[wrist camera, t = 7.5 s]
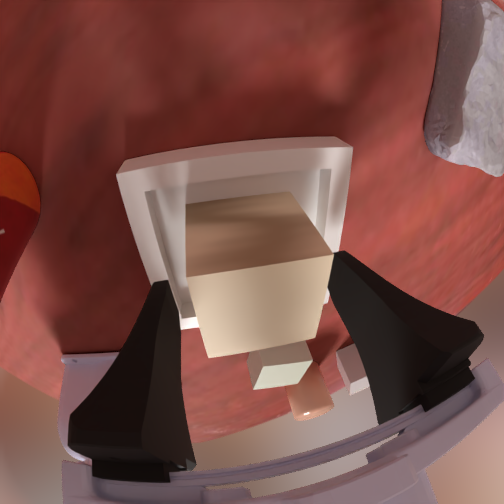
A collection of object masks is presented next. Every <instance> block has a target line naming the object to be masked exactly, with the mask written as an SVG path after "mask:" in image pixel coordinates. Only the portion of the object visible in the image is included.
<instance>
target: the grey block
mask: <svg viewBox="0 0 504 504" xmlns="http://www.w3.org/2000/svg"><path fill="white" fill-rule="evenodd" d="M336 356H337V367H338V369H339V371H340V374H341V376H342V378H343V381H344V383H345V385H346V388H347V390H348V392H349V395H352V394H354V393H357V392H359V391H361V390H363V389H366V388H367V387H370V385H369V382H368V379H367V375H366V372H365V369H364V366H363V363H362V361H361V358H360V355H359V353H358V350H357V348H356V346H355V343H354V344H352V345H350V346H347V347H345V348H343V349H340V350H338V351H336Z"/></svg>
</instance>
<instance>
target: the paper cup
mask: <svg viewBox="0 0 504 504" xmlns="http://www.w3.org/2000/svg"><path fill="white" fill-rule="evenodd" d="M40 209H41V203H40V195H39V191H38V187H37V184H36V182H35V179H34V177H33V175H32V173H31V172H30V170H29V169H28V167H27V166H26V165H25V164H24V163H23V162H22V161H21V160H20V159H19V158H18V157H16V156H15V155H13V154H11V153H8V152H3V151H0V302H1V299H2V297H3V294H4V292H5V289H6V287H7V285H8V283H9V280H10V278H11V276H12V274H13V272H14V269H15V267H16V265H17V263H18V261H19V259H20V257H21V255H22V253H23V251H24V249H25V247H26V245H27V243H28V242H29V240H30V238H31V236H32V234H33V232H34V230H35V228H36V226H37V223H38V220H39V217H40Z"/></svg>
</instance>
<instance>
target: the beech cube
mask: <svg viewBox="0 0 504 504" xmlns="http://www.w3.org/2000/svg"><path fill="white" fill-rule="evenodd" d="M185 254H186V279H187V283H188V287H189V291H190V295H191V299H192V302H193V306H194V310H195V314H196V317H197V321H198V324H199V328H200V331H201V335H202V338H203V342H204V345H205V348H206V352H207V355H208V358H213V357H219V356H226V355H232V354H238V353H244V352H250V351H255V350H261V349H266V348H271V347H276V346H281V345H286V344H290V343H295V342H299V341H304V340H308V339H312V338H315V336H316V332H317V329H318V325H319V321H320V316H321V312H322V308H323V304H324V299H325V295H326V291H327V286H328V281H329V277H330V272H331V267H332V262H333V257H334V254H333V252H332V251H331V249H330V248H329V246H328V245H327V243H326V242H325V241H324V239H323V238H322V236H321V235H320V233H319V232H318V230H317V229H316V227H315V226H314V225H313V223H312V222H311V220H310V219H309V217H308V216H307V215H306V213H305V212H304V210H303V209H302V208H301V206H300V205H299V203H298V202H297V201H296V199H295V198H294V196H293V195H292V194H291V192H281V193H271V194H261V195H252V196H244V197H235V198H227V199H220V200H212V201H205V202H198V203H191V204H185Z"/></svg>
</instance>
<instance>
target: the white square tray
mask: <svg viewBox="0 0 504 504" xmlns="http://www.w3.org/2000/svg"><path fill="white" fill-rule="evenodd" d="M352 153H353V147H352V146H350V145H349V144H347V143H345V142H344V141H342V140H340V139H339V138H337V137H335V136H327V137H291V138H274V139H260V140H248V141H238V142H229V143H220V144H212V145H205V146H198V147H191V148H185V149H178V150H173V151H167V152H161V153H156V154H151V155H146V156H141V157H136V158H132V159H127V160H125V161H124V162H123V164H122V165H121V167H120V169H119V170H118V172H117V173H116V177H117V180H118V184H119V188H120V192H121V195H122V199H123V203H124V206H125V209H126V213H127V216H128V219H129V223H130V226H131V229H132V232H133V235H134V238H135V241H136V244H137V247H138V250H139V253H140V256H141V259H142V262H143V265H144V267H145V270H146V273H147V276H148V278H149V281H150V284H151V286H152V284H153V283H154V282H156V281H163V280H168V281H169V284H170V287H171V290H172V293H173V296H174V299H175V302H176V305H177V308H178V311H179V318H180V328H181V330H182V329H189V328H196V327H199V324H198V321H197V317H196V314H195V310H194V306H193V302H192V299H191V295H190V291H189V287H188V283H187V279H186V254H185V204H191V203H198V202H205V201H212V200H220V199H227V198H235V197H244V196H252V195H261V194H271V193H281V192H291V194H292V195H293V196H294V198H295V199H296V201H297V202H298V203H299V205H300V206H301V208H302V209H303V210H304V212H305V213H306V215H307V216H308V217H309V219H310V220H311V222H312V223H313V225H314V226H315V227H316V229H317V230H318V232H319V233H320V235H321V236H322V238H323V239H324V241H325V242H326V243H327V245H328V246H329V248H330V249H331V251H332V252H333V253H334V252H338V250H339V245H340V239H341V234H342V228H343V222H344V215H345V209H346V202H347V195H348V187H349V180H350V171H351V163H352ZM329 295H330V293H329V291H328V288H327V291H326V295H325V299H324V304H325V303H328V299H329Z"/></svg>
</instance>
